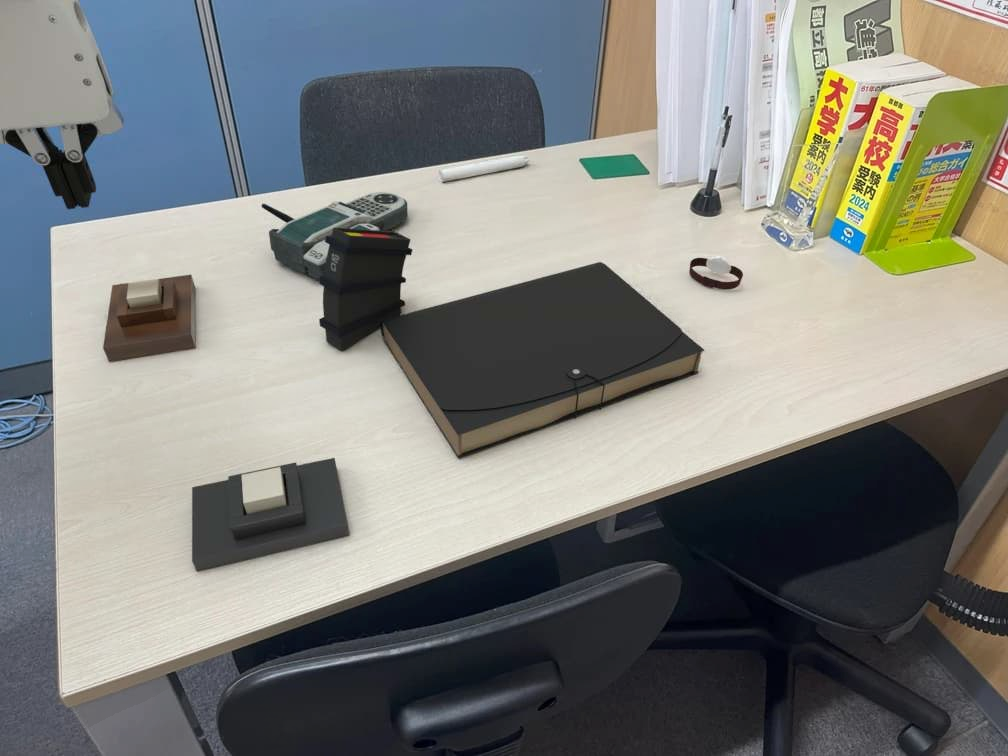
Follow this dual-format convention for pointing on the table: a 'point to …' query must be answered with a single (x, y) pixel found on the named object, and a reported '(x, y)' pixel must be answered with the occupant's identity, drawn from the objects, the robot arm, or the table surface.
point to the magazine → (361, 282)
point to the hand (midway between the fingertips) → (80, 200)
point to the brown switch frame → (151, 321)
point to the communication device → (331, 228)
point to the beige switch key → (144, 293)
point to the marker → (482, 168)
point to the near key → (263, 490)
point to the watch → (716, 272)
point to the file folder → (536, 354)
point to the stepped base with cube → (267, 516)
